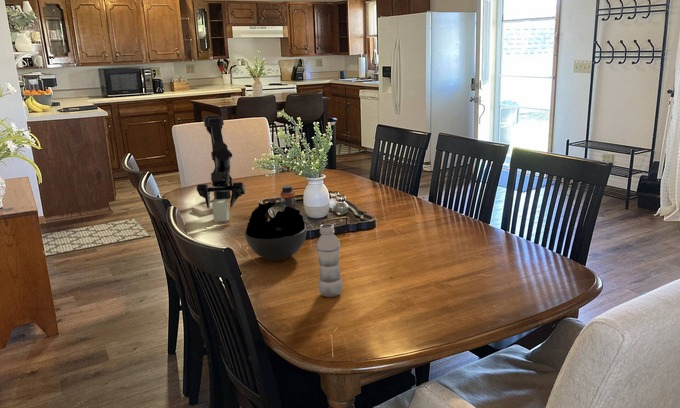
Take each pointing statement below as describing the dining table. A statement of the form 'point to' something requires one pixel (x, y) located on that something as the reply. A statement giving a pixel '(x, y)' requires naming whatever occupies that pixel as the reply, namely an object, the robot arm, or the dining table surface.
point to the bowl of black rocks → (275, 232)
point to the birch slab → (203, 209)
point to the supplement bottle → (288, 197)
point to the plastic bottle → (329, 262)
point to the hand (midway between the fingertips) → (219, 207)
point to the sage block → (220, 210)
